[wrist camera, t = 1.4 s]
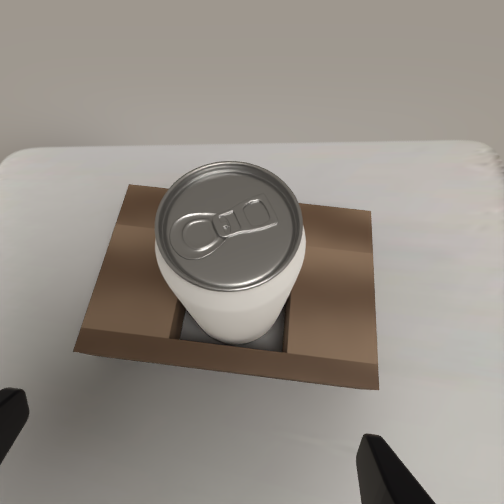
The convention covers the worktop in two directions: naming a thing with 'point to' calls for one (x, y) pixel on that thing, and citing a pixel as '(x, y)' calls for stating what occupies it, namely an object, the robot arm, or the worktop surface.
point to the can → (230, 247)
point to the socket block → (296, 309)
